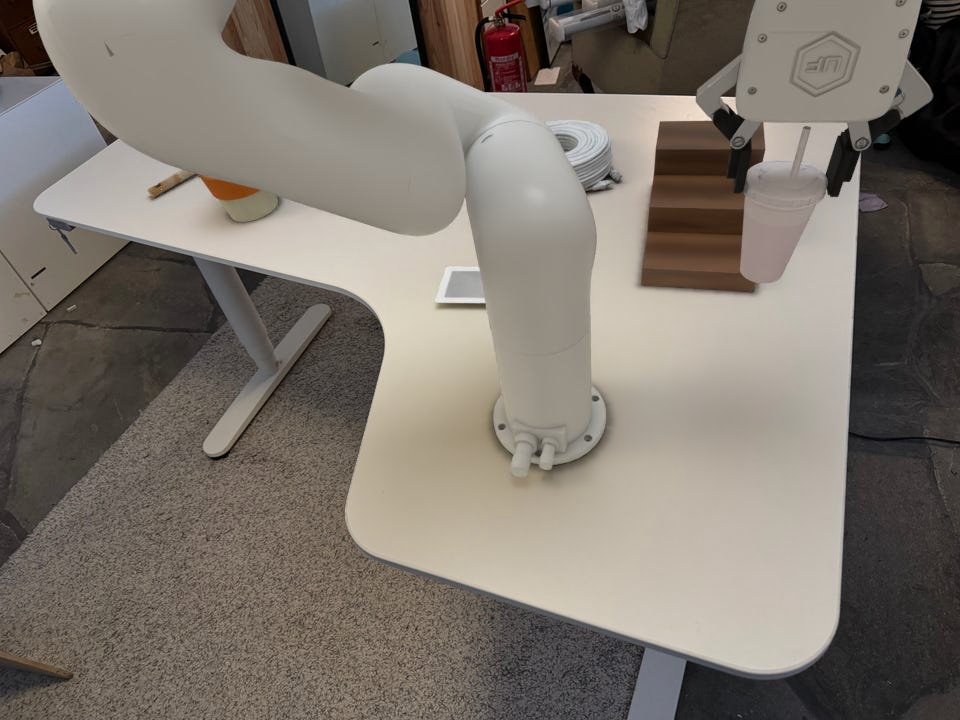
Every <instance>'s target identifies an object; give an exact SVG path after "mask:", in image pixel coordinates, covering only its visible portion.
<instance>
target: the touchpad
mask: <svg viewBox="0 0 960 720" xmlns="http://www.w3.org/2000/svg"><path fill="white" fill-rule="evenodd" d="M434 304H486V303H485V297H484V291H483V285H482V280H481V274H480V270H479V265H478V266H477V265H475V266H471V265H470V266H468V265H467V266H464V265H463V266H462V265H461V266H457V265H456V266H455V265H454V266H452V265H451V266H447V265H446V266H445V269H444V273H443V275H442V278H441V281H440V284H439V287H438V290H437V293H436V297H435V300H434Z"/></svg>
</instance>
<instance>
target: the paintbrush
mask: <svg viewBox="0 0 960 720" xmlns="http://www.w3.org/2000/svg"><path fill="white" fill-rule="evenodd" d="M194 174H195V173H192V172H189V171H185V170H182V169H179V171H177V172H175V173H173V174H172V175H171V176H168V177H167V178H165V179H164V180H161V181H160V182H158V183H157V184H156V185H153V186H151V187H150V188H148V189H147V192H148V194H149V195H150V197H152V198H156V197H158V196H159V195H161V194H162V193H163V192H166V191H168V190H170V189H171V188H173V187H174V186H176V185H177V184H179V183H181V182H182V181H184V180H186V179H188V178H189V177H191V176H193V175H194ZM161 189H162V190H161Z"/></svg>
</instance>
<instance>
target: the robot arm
mask: <svg viewBox="0 0 960 720" xmlns="http://www.w3.org/2000/svg"><path fill="white" fill-rule="evenodd" d="M237 2H238V0H32V6H33V12H34V16H35V17H34V18H35V22H36V27H37V30H38V33H39V37H40V39H41V41H42V45H43V47H44V49H45V51H46V53H47V56H48V58H49V60H50V62H51V63H52V65H53V67H54V69H55V70H56V72H57V73H58V75H59V77H60V78H61V80H62V81H63V83H64V84H65V86H66V87H67V88H68V90H69V91H70V92H71V94H72V95H73V96H74V98H75V99H76V100H77V101H78V103H79V104H80V105H81V107H83V108H84V109H85V111H87V113H88V114H89V115H90V116H92V118H93V119H94V120H95V121H97V122H98V124H100V125H101V126H102V128H105V129H106V130H107V131H108V132H109V133H110V134H111V135H113V136H114V137H116V138H117V139H118V140H120V141H122V142H123V143H124V144H126V145H127V146H129V147H130V148H132V149H134V150H136V151H137V152H139V153H141V154H143V155H145V156H147V157H149V158H150V159H153V160H155V161H158V162H160V163H162V164H164V165H168V166H170V167H173V168H176V169H179V170H185V171H189V172H192V173H194V174H195V175H198V174H199V175H203V176H207V177H211V178H215V179H219V180H223V181H227V182H232V183H235V184H239V185H243V186H247V187H251V188H255V189H258V190H262V191H265V192H268V193H271V194H275V195H277V197H281V198H283V199H286V200H289V201H292V202H293V203H297V204H300V205H303V206H305V207H309V208H313V209H316V210H319V211H322V212H326V213H329V214H332V215H335V216H338V217H341V218H345V219H347V220H351V221H354V222H357V223H360V224H363V225H366V226H370V227H373V228H376V229H379V230H382V231H386V232H389V233H393V234H398V235H403V236H411V237H425V236H430V235H434V234H436V233H438V232H441V231H443V230H446V229H447V227H448V226H450V224H452V223H453V222H454V221H455V220H456V218H457V217H458V215H459V214H460V212H461V210H462V208H463V205H464V201H465V206H466V212H467V215H468V221H469V224H470V229H471V235H472V239H473V245H474V249H475V255H476V260H477V264H478V266H479V270H480V274H481V280H482V285H483V291H484V297H485V303H484V304H485V309H486V314H487V319H488V325H489V330H490V333H491V338H492V339H491V340H492V344H493V350H494V355H495V361H496V367H497V372H498V378H499V383H500V388H501V393H500V395H499V397H498V399H497V400H496V402H495V405H494V409H493V415H492V417H493V418H492V421H493V426H494V427H493V428H494V430H495V434H496V437H497V439H498V440H499V442H500V444H501V445H502V446H503V447H504V448H505V449H506V450H507V451H508V452H509V453H511V454H512V455H513V456H512V459H511V463H510V466H509V473H510V474H511V475H512V476H513V477H515V478H519V479H524V478H527V477H528V475H529V471H530V467H531V464H533V465H534V464H535V465H538V468H540V469H542V470H544V471H551V470H552V469H553V466H554V465H561V464H565V463H570V462H572V461H575V460H578V459H580V458H581V457H583V456H584V455H586V454H589V452H590V451H591V450H593V448H595V447H596V445H597V444H598V443H599V442H600V440H601V439H602V437H603V434H604V432H605V430H606V424H607V408H606V404H605V401H604V399H603V397H602V395H601V394H600V392H599V391H598V390H597V388H596V387H594V386H593V384H592V323H591V322H592V319H591V317H592V316H591V290H592V289H591V287H592V286H591V285H592V275H593V268H594V263H595V258H596V253H597V242H598V241H597V240H598V234H597V233H598V232H597V226H596V220H595V216H594V212H593V208H592V206H591V203H590V200H589V198H588V196H587V193H586V191H584V188H583V186H582V184H581V182H580V180H579V178H578V176H577V174H576V172H575V170H574V168H573V167H572V165H571V163H570V162H569V160H568V158H567V156H566V154H565V152H564V150H563V148H562V146H561V144H560V142H559V141H558V139H557V137H556V136H555V134H554V133H553V131H552V130H551V129H550V128H549V127H548V126H547V125H546V124H545V123H544V122H545V121H543V120H542V119H541V118H540V117H537V115H534V114H533V113H531V112H529V111H527V110H525V109H523V108H521V107H519V106H517V105H515V104H512V103H510V102H508V101H506V100H503V99H501V98H498V97H496V96H495V95H494V96H493V95H492V94H489V93H487V92H484V91H482V90H481V89H477V88H476V87H473V86H471V85H469V84H466V83H464V82H462V81H459V80H457V79H455V78H452V77H451V76H448V75H445V74H444V73H440V72H438V71H437V70H433V69H431V68H428V67H425V66H422V65H418V64H412V63H405V62H391V63H390V62H389V63H384V64H381V65H377V66H374V67H372V68H370V69H368V70H367V71H365V72H364V73H363V72H362V74H361V75H360V76H358V77H357V78H356V79H355V80H354V81H353V82H352V84H351V85H350V86H349V87H348V86H345V85H342V84H339V83H337V82H335V81H331V80H328V79H326V78H324V77H323V76H320V75H318V74H315V73H313V72H311V71H309V70H307V69H304V68H301V67H298V66H296V65H291V64H288V63H284V62H280V61H274V60H268V59H263V58H256V57H251V56H248V55H245V54H241V53H239V52H237V51H235V50H234V49H232V48H230V47H229V46H228V44H226V42H225V41H224V39H223V36H222V33H223V30H224V29H225V27H226V24H227V22H228V20H229V19H230V16H231V14H232V12H233V10H234V8H235V6H236V3H237ZM922 2H923V0H754V3H753V7H752V10H751V12H750V16H749V21H748V24H747V29H746V33H745V37H744V41H743V45H742V49H741V53H740V54H739V55H737V56H736V57H735V58H734V59H732V61H730V62H729V63H728V64H726V65H725V66H724V67H723V68H721V69H720V70H719V71H717V72H716V73H715V74H714V75H713V76H712V77H710V78H709V79H708V80H707V81H705V82H704V83H703V84H702V85H700V86H699V87H698V88H697V89H696V91H695V103H696V105H697V106H698V107H699V108H700V109H701V110H702V112H704V114H705V115H706V116H707V117H708V118H709V119H710V121H713V124H714V125H715V126H716V127H717V128H718V129H719V131H720V132H721V133H722V134H723V135H724V136H725V137H726V138H727V139H728V140H729V141H730V145H731V149H730V155H729V160H728V166H727V173H726V179H734V192H733V193H734V194H740V193H741V192H743V190H744V186H745V181H746V176H747V172H748V167H749V162H750V158H751V152H752V142H751V137H752V135H753V134H754V133H755V131H756V130H757V128H758V127H759V126H760V124H761V123H762V122H763V123H771V124H773V123H774V124H775V123H776V124H777V123H778V124H779V123H780V124H784V123H787V124H845V123H846V125H847V126H846V127H847V128H845V129H844V130H843V131H841V132H840V134H839V135H837V137H836V140H835V143H834V145H833V149H832V151H831V154H830V155H831V156H830V158H829V162H828V165H827V168H826V171H825V173H824V174H825V175H826V177H827V179H828V186H827V189H826V194H827V196H829V197H830V198H838V197H839V196H840V193H841V191H842V188H843V185H844V183H850V182H851V181H852V179H853V176H854V173H855V170H856V167H857V165H858V163H859V159H860V156H861V154H862V151H865V150H867V149H868V148H870V146H871V144H872V142H873V141H875V140H876V139H878V138H879V137H881V136H882V135H884V134H886V133H888V132H889V131H890V130H892V129H894V128H895V127H896V126H898V125H899V124H900V123H901V120H903V119H905V118H908V117H909V116H911V115H912V114H914V113H915V112H918V110H920V109H921V108H923V107H924V106H927V104H929V103H930V102H932V100H933V98H934V93H933V91H932V89H931V87H930V84H928V82H927V81H926V80H925V79H924V77H923V76H922V75H921V74H920V73H919V71H918V70H917V69H916V68H915V67H914V65H913V64H912V63H911V62H910V61H909V59H908V56H909V55H908V54H909V51H910V48H911V44H912V41H913V38H914V33H915V31H916V26H917V23H918V18H919V14H920V10H921V5H922ZM735 86H736V87H735ZM733 87H735V101H734V102H735V109H736V111H734V110H733V109H732V108H731V106H729V105H728V104H727V103H725V102H724V101H723V98H722V96H723V95H724V94H726V93H727V92H728V91H729V90H730V89H732V88H733ZM898 89H899V90H900V91H901V92H900V94H898V95H897V96H896V94H897V91H898ZM199 175H198V176H199Z"/></svg>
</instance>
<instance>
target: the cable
mask: <svg viewBox="0 0 960 720" xmlns="http://www.w3.org/2000/svg"><path fill="white" fill-rule="evenodd" d="M543 122H544V123H545V124H546V125H547V126H548V127H549V128H550V129H551V130H552V131H553V133H554V134H555V136H556V137H557V139H558V141H559V142H560V144H561V146H562V148H563V150H564V152H565V154H566V156H567V158H568V160H569V162H570V163H571V165H572V167H573V168H574V170H575V172H576V174H577V176H578V178H579V180H580V182H581V184H582V186H583V188H584V191H585V192H588V191H591V190H592V191H599V190H606V189H607V188H608V187H609V186H610V185H612V184H613V183H614V182H613V180H614V181H616V182H619V181H620V180H621V179H622V177H623V175H622V174H621V173H619V171H617V170H616V169H614V168H612V164H613V151H612V150H613V149H612V140H611V137H610V135H609V134H608V132H607V130H606V129H605V128H603V127H602V126H601V125H599V124H597V123H595V122H592V121H588V120H582V119H580V120H579V119H556V120H555V119H554V120H549V121H543ZM608 175H609V176H610V177H611V178H612V179H613V180H612V179H610V180H609V179H606V180H604V179H605V178H606V177H607V176H608Z"/></svg>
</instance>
